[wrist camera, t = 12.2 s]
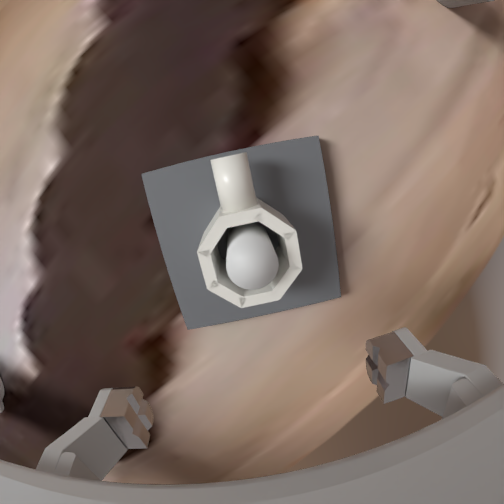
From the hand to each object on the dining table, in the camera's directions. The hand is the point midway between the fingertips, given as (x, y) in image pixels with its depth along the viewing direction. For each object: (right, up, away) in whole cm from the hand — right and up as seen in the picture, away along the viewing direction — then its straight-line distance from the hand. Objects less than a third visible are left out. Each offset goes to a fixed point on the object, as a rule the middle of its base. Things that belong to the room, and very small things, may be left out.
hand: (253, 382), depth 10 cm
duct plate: (0, +6, +16) cm, 17 cm away
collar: (-1, +7, +14) cm, 16 cm away
